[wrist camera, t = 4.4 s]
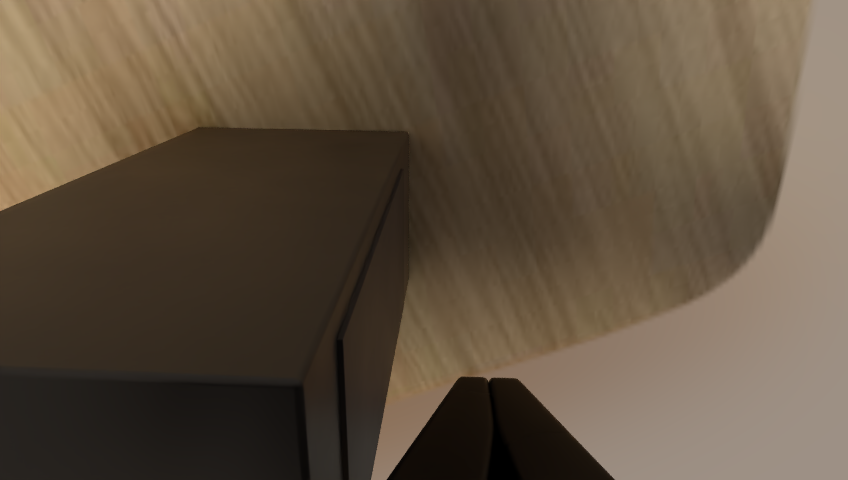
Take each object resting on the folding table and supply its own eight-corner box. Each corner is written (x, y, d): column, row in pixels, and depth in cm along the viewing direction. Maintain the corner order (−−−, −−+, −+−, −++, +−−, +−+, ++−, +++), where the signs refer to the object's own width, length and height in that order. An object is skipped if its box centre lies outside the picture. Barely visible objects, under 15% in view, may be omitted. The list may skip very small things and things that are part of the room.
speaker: (411, 131, 16) (309, 382, 5) (411, 279, 18) (332, 719, 7) (197, 126, 17) (-352, 355, 5) (215, 272, 18) (-176, 684, 7)
